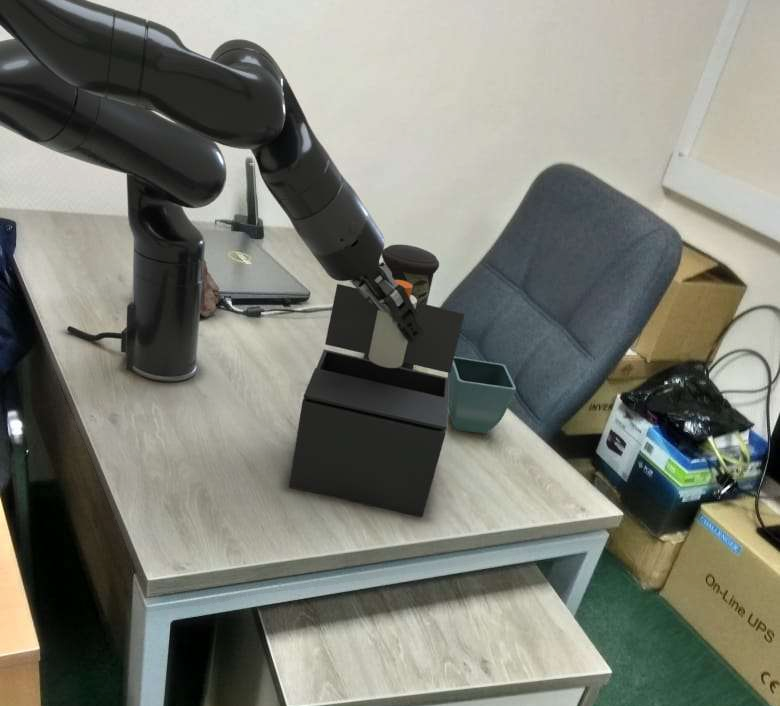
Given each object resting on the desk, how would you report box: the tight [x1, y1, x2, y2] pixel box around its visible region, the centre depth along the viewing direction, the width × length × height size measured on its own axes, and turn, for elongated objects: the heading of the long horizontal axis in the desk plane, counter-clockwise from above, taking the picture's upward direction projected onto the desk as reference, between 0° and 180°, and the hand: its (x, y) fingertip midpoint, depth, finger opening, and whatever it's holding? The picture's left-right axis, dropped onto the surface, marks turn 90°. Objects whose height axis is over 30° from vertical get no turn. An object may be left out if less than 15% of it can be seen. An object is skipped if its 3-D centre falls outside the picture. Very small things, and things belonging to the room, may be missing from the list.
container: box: [363, 244, 440, 370], centre depth 129 cm, size 9×9×20 cm
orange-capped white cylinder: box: [369, 280, 417, 368], centre depth 99 cm, size 4×4×10 cm
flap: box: [324, 283, 465, 374], centre depth 105 cm, size 17×8×1 cm
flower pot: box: [446, 356, 517, 435], centre depth 121 cm, size 9×9×9 cm
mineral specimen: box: [200, 259, 221, 318], centre depth 135 cm, size 12×13×15 cm
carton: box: [288, 349, 449, 518], centre depth 103 cm, size 17×16×13 cm
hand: (405, 328), depth 100 cm, fingers closed on orange-capped white cylinder, 4 cm apart
